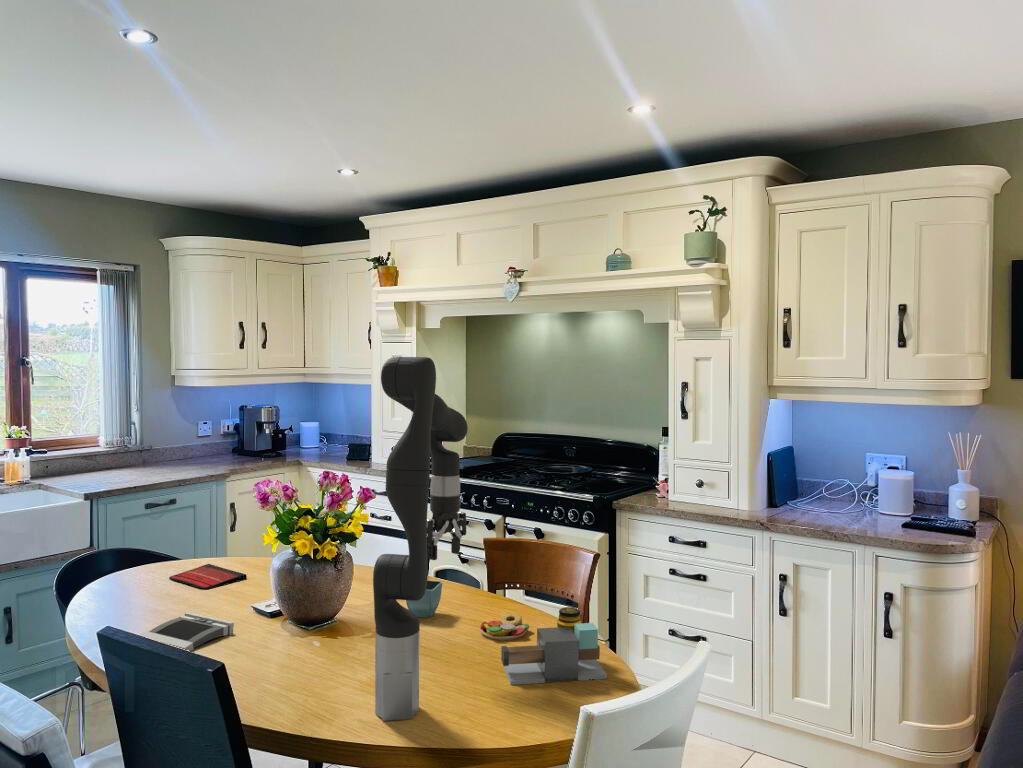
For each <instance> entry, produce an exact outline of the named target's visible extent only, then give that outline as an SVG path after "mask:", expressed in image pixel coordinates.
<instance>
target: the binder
mask: <svg viewBox="0 0 1023 768" xmlns="http://www.w3.org/2000/svg"><path fill="white" fill-rule="evenodd" d="M238 579H243V580H244V579H245V580H247V579H248V578H247V574H246V573H242V572H239V571H235V570H231V569H227V568H224V567H220V566H217V565H214V564H210V563H207V564H204V565H200V566H198V567H195V568H192V569H190V570H186V571H182V572H179V573H177V574H173V575H171V576H169V581H173V582H178V583H182V584H185V585H189V586H193V587H195V588H197V589H198V590H203V591H204V590H210V589H215V588H217V587H221V586H226V585H230V584H233V583H237V582H238V581H237V580H238Z"/></svg>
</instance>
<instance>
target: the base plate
mask: <svg viewBox="0 0 1023 768" xmlns="http://www.w3.org/2000/svg"><path fill="white" fill-rule="evenodd" d="M503 667H504V668H503V670H504V672H505V675H506V677H507V679H508V682H509V684H510V686H512V685H514V686H515V685H528V684H530V685H531V684H543V683H545V681H546V680H545V678H544V676H543V674H542V672H541V670H540V668H539V666H538V665H537V663H527V664H509V666H503ZM560 678H561V677H560ZM564 678H565V677H562V679H564ZM570 678H571V677H569V679H570ZM572 678H574V677H572ZM572 678H571V679H572ZM577 678H578V680H579V681H592V679H595V680H606V679H608V673H607V672H606V670H605V669H604V668H603V667H602V666H601V664H600V662H598V659H596V660H578V677H577V676H576V678H575V679H576V680H577ZM550 679H551V678H550ZM550 679H549V681H548V682H547V683H559V682H558V681H559V680H557V682H556V681H555V682H553V681H552V682H551V681H550ZM556 679H557V678H556ZM589 679H591V680H589ZM566 680H567V679H566ZM572 680H573V679H572ZM572 680H570V681H569V682H573V681H572ZM563 682H566V681H565V680H564V681H563ZM545 684H546V683H545Z"/></svg>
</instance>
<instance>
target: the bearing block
mask: <svg viewBox="0 0 1023 768" xmlns="http://www.w3.org/2000/svg"><path fill="white" fill-rule="evenodd" d="M536 645H541V647H542V648H543V662H542V663H537V665H538V666H539V668H540V670H541V672H542V674H543V676H544V678H545V680H546V681H545V684H546V683H549V682H548V681H549V679H550V678H551V679H550V681H551V682H550V683H561V682H562V681H563V682H575V681H574V680H576V679H575V678H576V676H577V677H578V654H579V640H578V639H577V637H576V636H575V634H574V633H573V632H572V630H571V629H570V627H557V626H556V627H537V629H536ZM560 677H561V678H560ZM562 677H565V678H564V679H562ZM569 677H571V678H572V677H574V678H572V679H573V680H572V679H571V678H570V679H569ZM556 678H557V679H556ZM566 679H567V680H566ZM557 680H559V681H558V682H557ZM564 680H565V681H564ZM570 680H572V681H570ZM577 680H578V678H577ZM552 681H553V682H552ZM555 681H556V682H555ZM563 682H562V683H563Z"/></svg>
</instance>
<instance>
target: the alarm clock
mask: <svg viewBox="0 0 1023 768" xmlns="http://www.w3.org/2000/svg"><path fill="white" fill-rule="evenodd" d="M234 625H235V622H234V621H229V620H224V619H219V618H216V617H212V616H206V615H201V614H198V613H193V612H185V613H184V615H180V616H178V617H176V618H173V619H170V620H169V621H168V620H167V621H165V622H163V623H161V624H160V625H158V626H155V627H153V628H152V629H150V630H149V631H147V630H145V631H144V632H143V633H141V634H140V635H141V636H144V637H147V638H151V639H154V640H157V641H160V642H163V643H167V644H169V645H173V646H176V647H179V648H182V649H185V650H189V651H190V652H191V651H194V649H195V648H197V647H199V646H200V645H203V644H205V643H206V642H208V641H210V640H213V639H216V638H219V637H225V636H228V635H229V636H231V635H233V634H234Z"/></svg>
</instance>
